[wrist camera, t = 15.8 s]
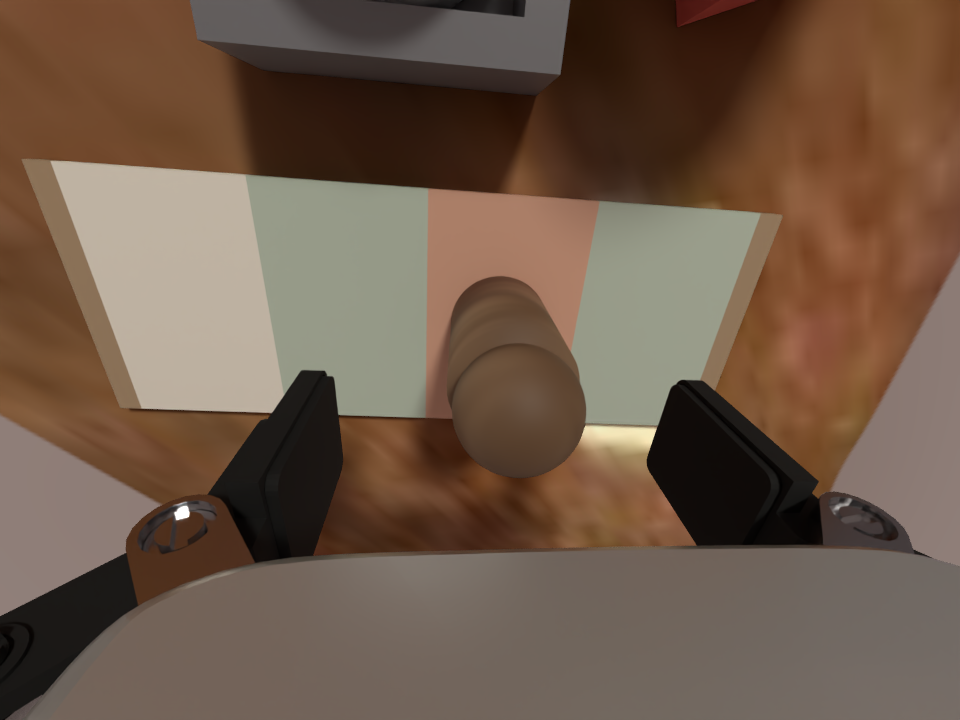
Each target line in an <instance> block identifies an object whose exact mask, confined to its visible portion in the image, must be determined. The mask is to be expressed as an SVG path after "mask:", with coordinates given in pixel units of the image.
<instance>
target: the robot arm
mask: <svg viewBox="0 0 960 720" xmlns="http://www.w3.org/2000/svg"><path fill="white" fill-rule="evenodd" d="M342 465H343V452H342V443H341V434H340V425H339V416H338V407H337V398H336V389H335V381H334V377H333V376H327V373H326V372H325V371H321V370H301V371H300V373H299V374H298V376H297V377H296V378H295V380H294V381H293V383H292V384H291V386H290V387H289V389H288V390H287V392H286V393H285V395H284V396H283V398H282V399H281V400H280V402H279V403H278V405H277V406H276V408H275V409H274V411H273V412H272V414H271V415H270V417H269V418H268V419H264V420H261V421H260V422H259V423H258V424H257V425H256V427H255V428H254V430H253V431H252V432H251V434H250V435H249V437H248V438H247V440H246V441H245V442H244V444H243V445H242V447H241V448H240V449H239V451H238V452H237V454H236V455H235V457H234V458H233V459H232V461H231V462H230V464H229V465H228V466H227V468H226V469H225V471H224V472H223V473H222V475H221V476H220V478H219V479H218V481H217V482H216V483H215V485H214V486H213V488H212V489H211V490H210V492H209V493H208V495H201V494H198V495H191V496H185V497H181V498H178V499H175V500H172V501H169V502H168V503H166V504H164V505H162V506H160V507H158V508H156V509H154V510H153V511H151V512H150V513H149V514H147V515H146V516H145V517H143V518H142V519H141V520H140V521H139V522H138V523H137V524H136V525H135V526H134V527H133V528H132V530H131V532H130V534H129V536H128V537H127V539H126V553H125V554H123V555H121V556H119V557H117V558H115V559H113V560H111V561H109V562H107V563H105V564H103V565H101V566H99V567H97V568H95V569H93V570H91V571H89V572H87V573H86V574H83V575H81V576H79V577H78V578H75V579H73V580H71V581H69V582H68V583H66V584H63V585H62V586H59V587H58V588H56V589H54V590H52V591H50V592H48V593H46V594H44V595H42V596H40V597H38V598H36V599H34V600H32V601H30V602H28V603H26V604H24V605H22V606H20V607H18V608H16V609H14V610H12V611H10V612H8V613H6V614H4V615H2V616H0V720H960V566H957V565H954V564H951V563H947V562H943V561H940V560H936V559H933V558H931V557H929V556H927V555H925V554H922V553H920V552H918V551H916V550H913V548H912V545H911V542H910V539H909V536H908V534H907V532H906V531H905V529H904V528H903V527H902V526H901V524H899V522H897V521H896V519H894V518H893V517H892V516H890V515H889V514H887V513H886V512H885V511H884V510H882V509H880V508H879V507H877V506H875V505H873V504H871V503H870V502H867V501H865V500H863V499H861V498H858V497H855V496H852V495H849V494H846V493H840V492H826V493H824V494H822V495H821V496H820V498H819V499H818V498H817V497H815V496H814V495H813V494H812V492H813V490H814V489H815V487H816V485H817V484H818V482H819V481H818V480H817V479H815V478H814V477H813V476H812V475H811V474H810V473H809V472H807V471H806V470H805V469H804V468H803V467H802V466H800V465H799V464H798V463H797V462H796V461H795V460H794V459H792V458H791V457H790V456H789V455H788V454H787V453H786V452H784V451H783V450H782V449H781V448H780V447H779V446H778V445H776V444H775V443H774V442H773V441H772V440H771V439H770V438H768V437H767V436H766V435H765V434H764V433H763V432H762V431H760V430H759V429H758V428H757V427H756V426H755V425H753V424H752V423H751V422H750V421H749V420H748V419H747V418H745V417H744V416H743V415H742V414H741V413H740V412H739V411H737V410H736V409H735V408H734V407H733V406H732V405H731V404H729V403H728V402H727V401H726V400H725V399H724V398H723V397H721V396H720V395H719V394H718V393H717V392H716V391H714V390H713V389H712V388H711V387H710V386H709V385H708V384H706V383H705V382H704V381H702V380H680V381H678V382H677V383H676V385H673V386H672V387H671V389H670V391H669V394H668V397H667V400H666V403H665V406H664V409H663V412H662V415H661V418H660V421H659V424H658V427H657V430H656V433H655V436H654V439H653V442H652V445H651V448H650V451H649V454H648V457H647V467H648V470H649V472H650V473H651V475H652V476H653V478H654V479H655V481H656V483H657V484H658V486H659V487H660V489H661V490H662V492H663V493H664V495H665V497H666V498H667V500H668V501H669V503H670V504H671V506H672V507H673V509H674V511H675V512H676V514H677V515H678V517H679V518H680V520H681V521H682V523H683V524H684V526H685V528H686V529H687V531H688V532H689V534H690V535H691V537H692V538H693V540H694V542H695V543H696V545H697V546H642V547H585V548H534V549H491V550H450V551H409V552H380V553H354V554H335V555H319V556H313V554H314V551H315V548H316V545H317V542H318V539H319V536H320V533H321V530H322V527H323V524H324V521H325V518H326V515H327V512H328V509H329V506H330V503H331V500H332V497H333V494H334V491H335V488H336V485H337V482H338V479H339V476H340V473H341V470H342Z"/></svg>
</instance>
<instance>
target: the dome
mask: <svg viewBox="0 0 960 720" xmlns="http://www.w3.org/2000/svg"><path fill="white" fill-rule="evenodd" d="M367 1H376V2H386V3H395V4H405V5H414V6H423V7H433V8H442V9H451V8H453V7H454V6H455V5H457V4H458V3H459V2H461V1H462V0H367Z"/></svg>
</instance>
